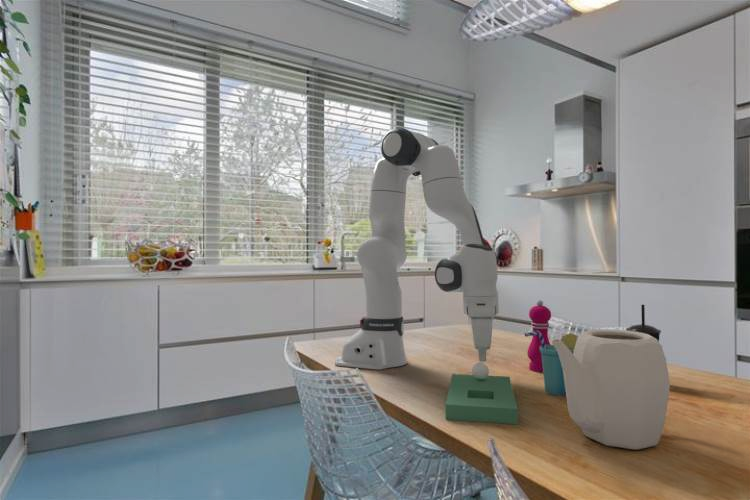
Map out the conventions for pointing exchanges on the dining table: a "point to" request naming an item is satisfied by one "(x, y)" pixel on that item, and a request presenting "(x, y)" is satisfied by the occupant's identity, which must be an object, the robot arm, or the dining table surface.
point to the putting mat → (481, 399)
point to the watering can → (616, 386)
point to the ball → (480, 371)
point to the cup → (554, 363)
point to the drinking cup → (645, 327)
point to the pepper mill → (539, 323)
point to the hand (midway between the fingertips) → (482, 360)
